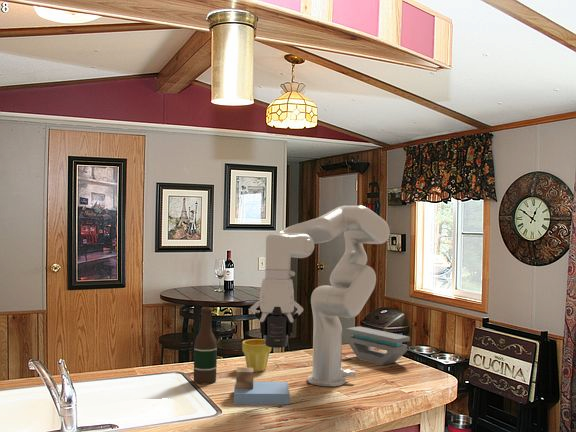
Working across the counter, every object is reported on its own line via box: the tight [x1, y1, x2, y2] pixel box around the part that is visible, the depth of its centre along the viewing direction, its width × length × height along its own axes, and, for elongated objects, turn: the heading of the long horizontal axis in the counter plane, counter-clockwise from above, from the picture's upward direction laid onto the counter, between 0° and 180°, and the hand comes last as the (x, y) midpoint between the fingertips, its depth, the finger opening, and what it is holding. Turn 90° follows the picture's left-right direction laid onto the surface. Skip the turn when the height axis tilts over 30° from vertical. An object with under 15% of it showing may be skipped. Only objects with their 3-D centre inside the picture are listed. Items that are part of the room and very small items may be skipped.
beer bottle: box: [193, 306, 218, 385], centre depth 181 cm, size 8×8×24 cm
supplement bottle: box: [264, 307, 289, 349], centre depth 166 cm, size 7×7×12 cm
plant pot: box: [241, 338, 272, 373], centre depth 198 cm, size 10×10×10 cm
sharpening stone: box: [345, 325, 411, 366], centre depth 214 cm, size 25×8×11 cm, turn 41°
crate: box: [235, 367, 255, 389], centre depth 166 cm, size 5×5×5 cm
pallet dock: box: [233, 381, 291, 405], centre depth 166 cm, size 16×12×3 cm
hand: (276, 334), depth 166 cm, fingers closed on supplement bottle, 6 cm apart
